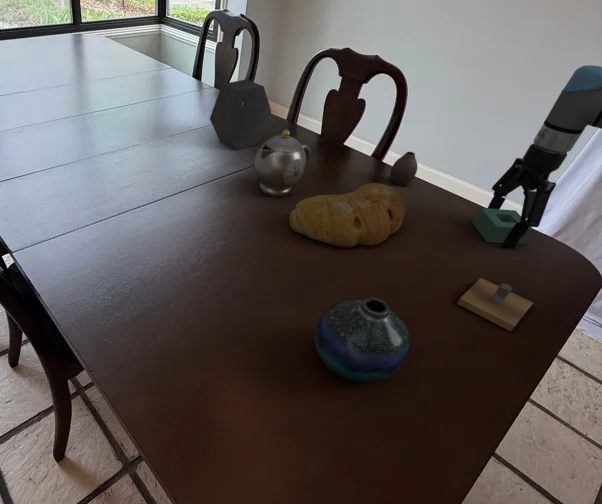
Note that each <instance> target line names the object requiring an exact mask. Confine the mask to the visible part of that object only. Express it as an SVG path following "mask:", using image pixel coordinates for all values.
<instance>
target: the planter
mask: <svg viewBox="0 0 602 504" xmlns="http://www.w3.org/2000/svg"><path fill="white" fill-rule="evenodd" d="M271 114H272V109H271V106H270V103H269V100H268V96H267V92H266V89H265V86H264V85H262V84H260V83H257V82H254V81H252V80H250V79H241V80H235V81H230V82H225V83H222V84H221V87H220V89H219V91H218V94H217V97H216V100H215V102H214V106H213V109H212V111H211V114H210V117H209V121H210V123H211V125H212V127H213V129H214V131H215V133H216V136H217V139H218V140H219V142H220V143H221V144H223V145H225V146H227V147H229V148H231V149H233V150H235V151H237V150H241V149H244V148H245V149H246V148H248V147H252V146H255V145H258V144H259V143H260V140H261V138H262V136H263V133H264V131H265V128H266V126H267V124H268V121H269V119H270V116H271Z"/></svg>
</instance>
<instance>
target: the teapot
mask: <svg viewBox="0 0 602 504" xmlns="http://www.w3.org/2000/svg"><path fill="white" fill-rule="evenodd" d="M290 135H291V132H290V130H289V129H285V128H284V129H283V130H282V132H281V134H279V135H275V136H272V137H270V138H268V139H266V140H265V141H264V142H263V143H262V144H261V145H260V147H259V148H258V150H257V152H256V154H255V158H254V172H255V175H256V177H257V179H258V181H259V190H260V191H261V192H262V193H263V194H265V195H266V196H270V197H275V198H282V197H286V196H287V195H289V194H290V193H291V191H292V187H293V186H295V184H297V183H298V182H299V181H300V180H301V178H302V177H303V175H304V173H305V170H306V169H307V167H308V165H309V163H310V159H311V154H312V153H311V148H310V146H309V145H307V144H303V143H302V144H301V142H300V141H298V140H297V139H296V138H294V137H292V136H290Z"/></svg>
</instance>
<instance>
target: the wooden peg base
mask: <svg viewBox="0 0 602 504" xmlns="http://www.w3.org/2000/svg"><path fill="white" fill-rule="evenodd" d="M512 290H513V287H512V286H511V285H510V284H508V283H501V284H499V285H497V284H494V283H493V282H491V281H488V280H487V279H484V278H482V277H480V278H479V279H478V280H477V281H476V282H474V284H473V285H472V286H471V287H470V288H469V289H468V290H467V291H466V292H465V293H464V294H462V295H461V296H460V298H459V299H458V300H457V302H456V305H458V306H460V307H462V308H465V309H466V310H468V311H470V312H472V313H474V314H476V315H478V316H480V317H481V318H484V319H485V320H488V321H489V322H491V323H493V324H495V325H497V326H499V327H501V328H503V329H505V330H507V331H508V332H512V331H513V330H514V328H516V326H517V325H518V323H519V322H520V321H521V319H522V318H523V317H524V316H525V314H526V313H527V312H528V310H530V308H531V306H533V304H534V302H533V301H531V300H529V299H526V298H524V297H523V296H520V295H518V294H516V293H514V292H512Z"/></svg>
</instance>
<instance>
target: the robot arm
mask: <svg viewBox="0 0 602 504" xmlns="http://www.w3.org/2000/svg"><path fill="white" fill-rule="evenodd" d="M587 126H590V127H593V128H597V129H601V130H602V66H600V65H587V64H586V65H582V66H580V67H578V68H577V69H576V70H575V71H574V72H573V73H572V75H571V76H570V78H569V80H568V81H567V82H566V84H565V86H564V87H563V89H561V91H560V94H559V95H558V97H557V99H556V101H555V102H554V103H553V106H552V108H551V109H550V111H549V112H548V114H547V116H546V118H545V120H544V121H543V124H542V125H541V126H540V128H539V130H538V132H537V134H536V135H535V137H534V139H533V141H532V142H533V143H531V144H529V146H528V148H527V149H526V152H525V153H524V155H523V156H522V157H516V158H515V159H514V162H513V163H512V165H511V166H510V167H509V168H508V169H507V170H506V172H505V173H504V174H503V175H502V176H501V177H500V178H499V179H498V180H497V181H496V182H495V183H494V184H493V185H492V187H491V190H492V191H493V193H492V194H493V197H492V198H491V199H490V201H489V203H488V205H487V208H489V209H502V207H503V204H504V203H505V201H506V197H508V194H510V193H512V192H513V191H514V190H516V189H517V188H520V187H521V188H522V190H523V192H522V193H523V195H524V199H523V203H522V209H521V215H520V216H521V219H520V222H516V224H515V226H514V227H513V229H512V230H511V232H510V233H509V235H508V236H507V238H506V239H505V241H504V243H501V247H502V248H511V249H514V248H515V247H516V245H518V244H517V242H518V241H519V239H520V238H522V237H523V235H524V234H525V233H526V231H527V230H528V228H529V227H531V228H539V226H540V224H541V222H542V220H543V216H544V214H545V211H546V208H547V205H548V204H549V203H548V202H549V199H550V197H551V195H552V193H553V191H554V190H555V188H556V187H557V182H555V181H550V180H549V178H550V176H551V174H552V173H554V172H556V171H557V170H559V169H560V168H561V166H562V164H563V163H564V161H565V160H566V158H567V156H568V153H569V152H571V151H572V150H573V148H574V147H575V145H576V144H577V142H578V140H579V139H580V137H581V135H582V134H583V132H584V131H585V129H586V128H587Z"/></svg>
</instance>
